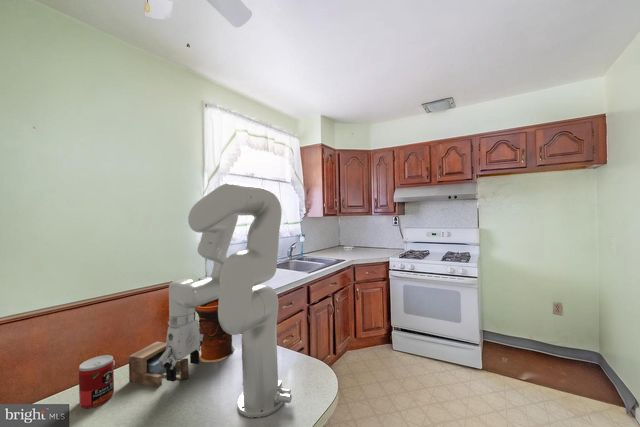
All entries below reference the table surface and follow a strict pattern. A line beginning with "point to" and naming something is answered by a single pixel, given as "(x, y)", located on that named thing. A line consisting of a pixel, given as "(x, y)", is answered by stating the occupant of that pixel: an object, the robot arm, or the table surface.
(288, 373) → the table surface
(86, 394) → the canned food
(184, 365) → the knob-handled block
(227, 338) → the vessel
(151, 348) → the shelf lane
